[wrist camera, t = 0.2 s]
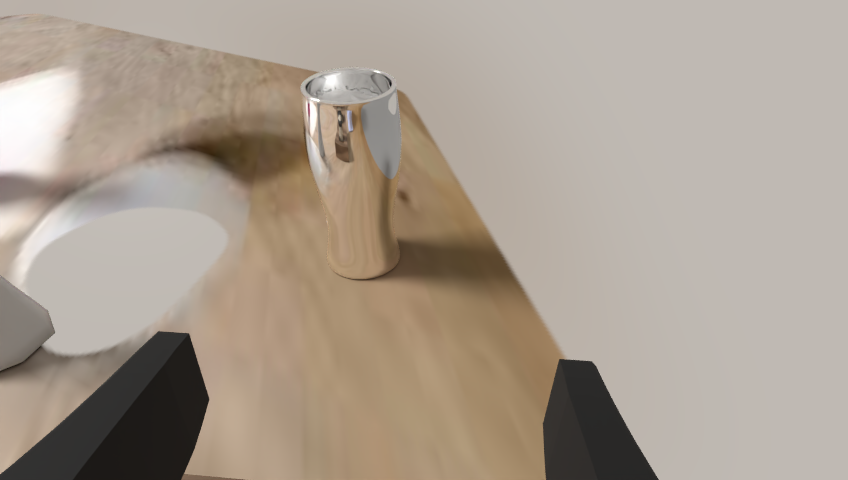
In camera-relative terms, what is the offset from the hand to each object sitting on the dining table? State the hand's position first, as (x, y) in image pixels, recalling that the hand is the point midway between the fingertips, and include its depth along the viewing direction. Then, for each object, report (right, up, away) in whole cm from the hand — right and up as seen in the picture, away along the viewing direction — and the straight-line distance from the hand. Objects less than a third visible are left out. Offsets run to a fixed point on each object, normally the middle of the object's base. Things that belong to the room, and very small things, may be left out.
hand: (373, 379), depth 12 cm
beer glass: (-4, +1, +38) cm, 38 cm away
